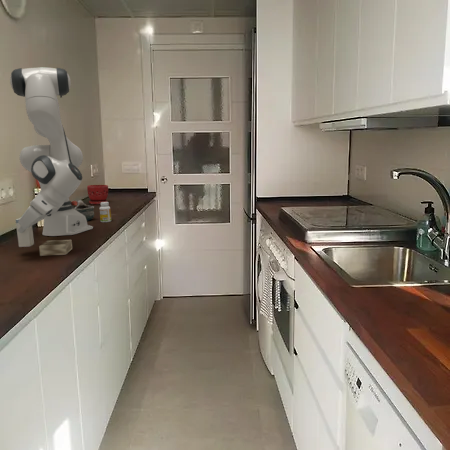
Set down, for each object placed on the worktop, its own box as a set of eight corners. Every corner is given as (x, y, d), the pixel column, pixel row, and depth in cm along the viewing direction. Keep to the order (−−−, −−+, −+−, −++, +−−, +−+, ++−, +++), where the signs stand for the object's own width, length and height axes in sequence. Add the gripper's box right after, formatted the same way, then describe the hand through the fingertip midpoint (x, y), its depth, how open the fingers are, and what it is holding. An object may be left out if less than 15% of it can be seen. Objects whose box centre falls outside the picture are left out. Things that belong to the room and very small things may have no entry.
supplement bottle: (107, 220, 232) (105, 201, 230) (113, 221, 228) (112, 202, 227) (98, 221, 228) (96, 202, 226) (104, 222, 224) (103, 203, 222)
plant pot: (98, 205, 285) (96, 186, 283) (84, 204, 293) (82, 186, 290) (113, 202, 296) (112, 184, 294) (99, 201, 303) (98, 184, 301)
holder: (72, 248, 172) (71, 239, 171) (65, 254, 163) (64, 245, 162) (48, 249, 171) (47, 240, 171) (40, 255, 163) (39, 246, 162)
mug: (81, 222, 226) (79, 203, 224) (69, 220, 234) (67, 201, 232) (98, 220, 233) (97, 200, 231) (85, 217, 241) (84, 199, 239)
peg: (34, 243, 167) (31, 217, 165) (30, 246, 163) (27, 219, 161) (23, 244, 167) (19, 217, 165) (18, 246, 163) (15, 219, 161)
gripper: (49, 192, 172) (26, 218, 173) (30, 200, 152) (4, 230, 153) (62, 203, 173) (39, 229, 174) (45, 213, 153) (19, 242, 154)
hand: (22, 230), depth 164 cm, fingers closed on peg, 4 cm apart
